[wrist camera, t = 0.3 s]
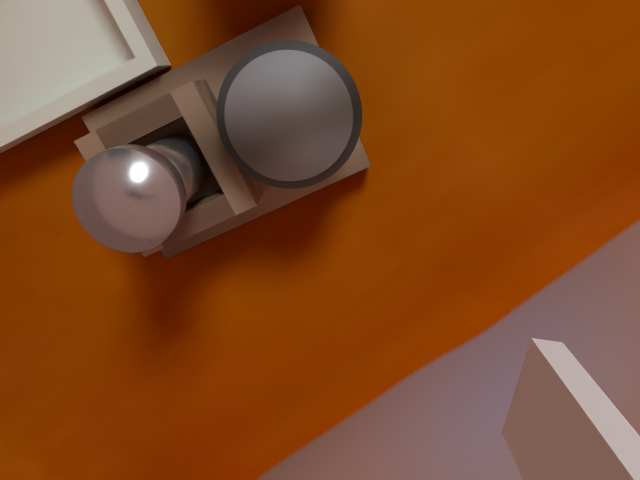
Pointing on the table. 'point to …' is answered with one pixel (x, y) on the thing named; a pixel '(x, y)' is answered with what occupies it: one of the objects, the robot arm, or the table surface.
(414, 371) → the table surface
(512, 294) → the table surface
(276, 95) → the block
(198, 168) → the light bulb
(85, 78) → the tray
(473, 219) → the table surface
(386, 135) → the table surface
